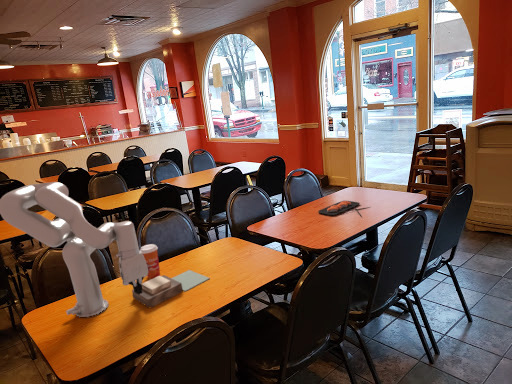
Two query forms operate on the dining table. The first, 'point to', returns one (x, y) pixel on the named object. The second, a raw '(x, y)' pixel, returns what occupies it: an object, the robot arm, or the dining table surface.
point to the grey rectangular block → (159, 293)
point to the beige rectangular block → (156, 284)
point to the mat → (190, 279)
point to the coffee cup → (151, 260)
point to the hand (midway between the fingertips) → (138, 292)
